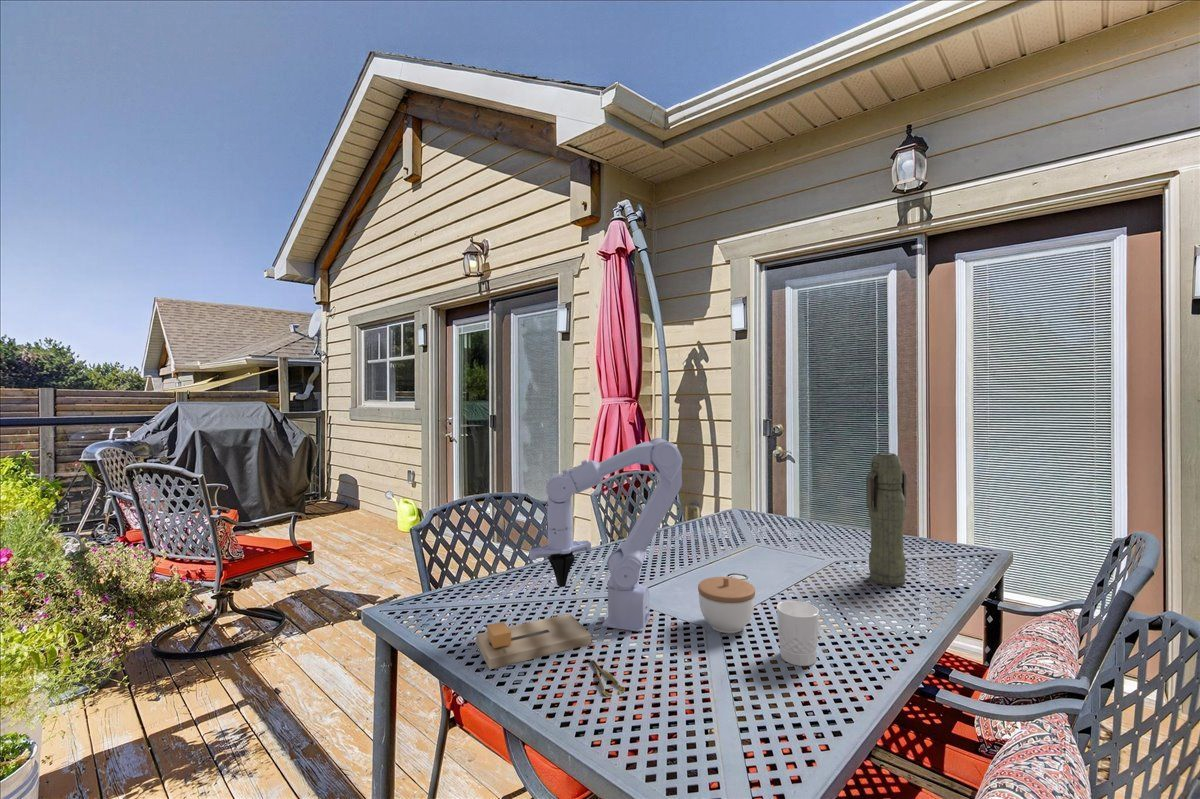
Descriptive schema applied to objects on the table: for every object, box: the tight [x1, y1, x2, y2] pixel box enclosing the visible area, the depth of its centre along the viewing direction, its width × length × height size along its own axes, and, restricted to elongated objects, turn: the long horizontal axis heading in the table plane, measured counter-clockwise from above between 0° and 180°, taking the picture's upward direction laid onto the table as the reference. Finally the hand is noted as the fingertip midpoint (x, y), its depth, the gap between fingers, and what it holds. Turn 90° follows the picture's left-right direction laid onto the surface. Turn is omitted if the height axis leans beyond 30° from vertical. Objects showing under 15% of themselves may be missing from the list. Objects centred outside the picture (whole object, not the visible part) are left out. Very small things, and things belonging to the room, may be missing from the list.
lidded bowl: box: [697, 576, 756, 634], centre depth 120 cm, size 13×13×11 cm
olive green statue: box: [865, 452, 907, 587], centre depth 145 cm, size 9×12×35 cm
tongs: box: [590, 659, 626, 697], centre depth 99 cm, size 4×13×2 cm, turn 26°
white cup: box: [776, 600, 820, 667], centre depth 105 cm, size 8×8×10 cm
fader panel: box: [475, 613, 592, 670], centre depth 113 cm, size 22×12×2 cm, turn 115°
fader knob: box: [486, 621, 511, 648], centre depth 110 cm, size 4×6×2 cm, turn 26°
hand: (561, 585), depth 121 cm, fingers closed
